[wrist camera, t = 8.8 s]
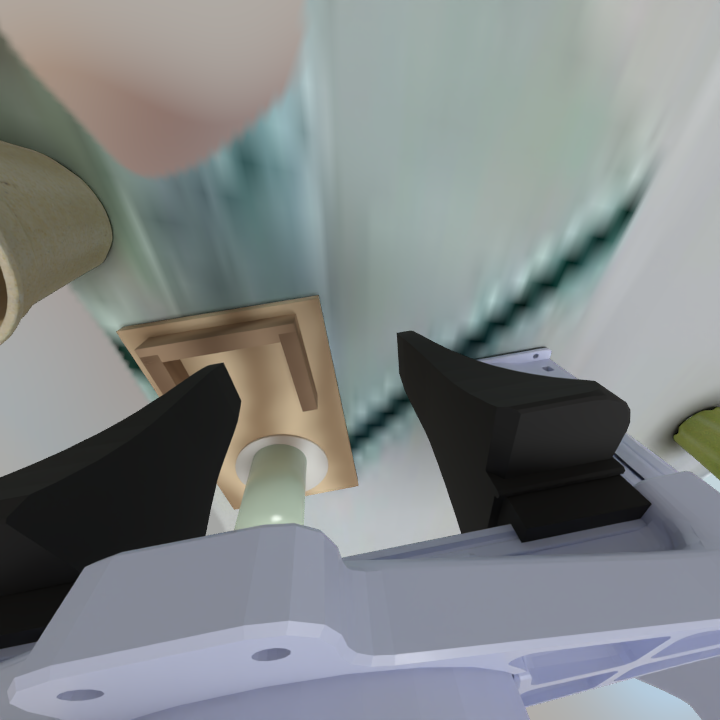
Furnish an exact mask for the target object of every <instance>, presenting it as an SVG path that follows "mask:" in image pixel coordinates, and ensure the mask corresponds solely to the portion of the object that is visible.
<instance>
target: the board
mask: <svg viewBox="0 0 720 720" xmlns="http://www.w3.org/2000/svg"><path fill="white" fill-rule="evenodd" d="M116 332H117V334H118V335H119V337H120V338H121V340H122V341H123V343H124V344H125V346H126V347H127V349H128V350H129V352H130V353H131V355H132V356H133V358H134V359H135V361H136V362H137V364H138V365H139V367H140V368H141V370H142V371H143V373H144V374H145V376H146V377H147V379H148V380H149V382H150V383H151V385H152V387H153V388H154V390H155V391H156V393H157V394H158V396H159V397H160V396H162V395H163V394H165V393H166V392H168V391H169V390H171V389H172V388H174V387H175V386H176V385H178V384H179V383H181V382H182V381H184V380H185V379H187V378H188V377H190V376H191V375H193V374H194V373H196V372H197V371H199V370H200V369H202V368H204V367H206V366H208V365H212V364H217V363H223V362H224V364H225V366H226V369H227V371H228V373H229V375H230V377H231V379H232V382H233V384H234V386H235V388H236V390H237V392H238V394H239V397H240V399H241V407H240V413H239V418H238V423H237V426H236V429H235V431H234V434H233V437H232V440H231V443H230V446H229V448H228V451H227V454H226V457H225V459H224V462H223V465H222V468H221V471H220V474H219V477H218V480H217V484H218V486H219V487H220V489H221V490H222V492H223V493H224V495H225V497H226V498H227V500H228V501H229V503H230V504H231V506H232V507H233V509H234V510H235V509H240V506H241V502H242V498H243V494H244V490H245V486H246V483H247V479H248V475H249V471H250V467H251V463H252V460H253V457H254V455H255V454H256V453H257V451H259V450H260V449H262V448H264V447H266V446H269V445H274V444H285V445H290V446H293V447H296V448H298V449H299V450H301V451H302V452H303V453H304V455H305V456H306V459H307V470H306V489H305V496H308V495H313V494H318V493H324V492H329V491H334V490H339V489H345V488H350V487H355V486H358V479H357V474H356V469H355V465H354V460H353V455H352V450H351V446H350V441H349V436H348V432H347V427H346V422H345V418H344V413H343V408H342V403H341V399H340V394H339V389H338V385H337V380H336V375H335V370H334V366H333V361H332V356H331V352H330V347H329V342H328V337H327V333H326V328H325V323H324V319H323V314H322V309H321V304H320V300H319V295H316V296H310V297H304V298H298V299H292V300H286V301H280V302H274V303H267V304H261V305H255V306H249V307H243V308H237V309H231V310H224V311H218V312H212V313H206V314H200V315H194V316H188V317H181V318H175V319H169V320H163V321H157V322H151V323H145V324H138V325H132V326H126V327H123V328H121V329H119V330H118V331H116Z"/></svg>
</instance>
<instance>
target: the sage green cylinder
mask: <svg viewBox="0 0 720 720" xmlns="http://www.w3.org/2000/svg"><path fill="white" fill-rule="evenodd" d="M306 470H307V459H306V456H305V455H304V453H303V452H302V451H301V450H299V449H298V448H296V447H293V446H290V445H285V444H274V445H269V446H266V447H264V448H262V449H260V450H259V451H257V453H256V454H255V455H254V457H253V460H252V463H251V467H250V471H249V475H248V479H247V483H246V486H245V490H244V494H243V498H242V502H241V506H240V509H239V513H238V517H237V521H236V525H235V529H234V530H239V529H244V528H249V527H254V526H259V525H266V524H286V523H296V524H300V525H304V507H305V489H306Z"/></svg>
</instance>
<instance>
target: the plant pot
mask: <svg viewBox="0 0 720 720" xmlns="http://www.w3.org/2000/svg"><path fill="white" fill-rule="evenodd" d="M674 440H675V442H676V443H678V444H679V445H680V446H681V447H682V448H683V449H685V450H686V451H687V452H688V453H689V454H690V455H692V456H693V457H694V458H695V459H696V460H697V461H699V462H700V463H701V464H702V465H703V466H704V467H705V468H706V469H708V470H709V471H710V472H711V473H712V474H713V475H714V476H716V477H717V478H718V479H719V480H720V407H716V408H715V409H714V410H704V411H701V412H699V413H697V414H695V415H693V416H692V417H690V418H689V419H688V420H686V421H684V422H683V423H682V424H681V425H680V426H679V432H678V434H676V435H674Z"/></svg>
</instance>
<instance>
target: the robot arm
mask: <svg viewBox="0 0 720 720" xmlns="http://www.w3.org/2000/svg"><path fill="white" fill-rule="evenodd" d="M397 343H398V360H399V374H400V377H401V380H402V383H403V386H404V389H405V392H406V394H407V396H408V398H409V400H410V402H411V404H412V406H413V408H414V410H415V412H416V414H417V416H418V418H419V420H420V422H421V424H422V426H423V428H424V430H425V432H426V434H427V436H428V439H429V441H430V443H431V446H432V449H433V452H434V454H435V457H436V460H437V462H438V465H439V468H440V471H441V474H442V477H443V479H444V482H445V485H446V488H447V491H448V494H449V497H450V500H451V503H452V506H453V509H454V512H455V515H456V518H457V521H458V525H459V528H460V531H461V534H458V535H453V536H448V537H443V538H438V539H433V540H428V541H423V542H418V543H413V544H408V545H403V546H398V547H393V548H388V549H383V550H378V551H373V552H368V553H363V554H358V555H353V556H348V557H343V558H341V555H340V552H339V549H338V547H337V546H336V545H335V544H334V543H333V542H332V541H331V540H330V539H329V538H328V537H327V536H326V535H325V534H324V533H323V532H322V531H321V530H319V529H315V528H311V527H308V526H304V525H300V524H296V523H286V524H266V525H259V526H254V527H249V528H244V529H239V530H234V531H229V532H223V533H218V534H213V535H208V536H206V530H207V525H208V520H209V515H210V510H211V505H212V501H213V497H214V493H215V488H216V484H217V480H218V477H219V474H220V471H221V468H222V465H223V462H224V459H225V457H226V454H227V451H228V448H229V446H230V443H231V440H232V437H233V434H234V431H235V429H236V426H237V423H238V418H239V413H240V407H241V399H240V397H239V394H238V392H237V390H236V388H235V386H234V384H233V382H232V379H231V377H230V375H229V373H228V371H227V369H226V366H225V364H224V362H223V363H217V364H212V365H208V366H206V367H204V368H202V369H200V370H199V371H197V372H196V373H194V374H193V375H191V376H190V377H188V378H187V379H185V380H184V381H182V382H181V383H179V384H178V385H176V386H175V387H174V388H172V389H171V390H169V391H168V392H166V393H165V394H163V395H162V396H160V397H159V398H157V399H156V400H154V401H153V402H151V403H150V404H148V405H147V406H145V407H144V408H142V409H141V410H139V411H137V412H136V413H134V414H132V415H131V416H129V417H127V418H126V419H124V420H122V421H121V422H119V423H117V424H115V425H113V426H111V427H110V428H108V429H106V430H104V431H102V432H100V433H98V434H97V435H94V436H92V437H90V438H88V439H86V440H84V441H82V442H80V443H78V444H76V445H74V446H72V447H70V448H68V449H66V450H64V451H62V452H60V453H57V454H55V455H53V456H50V457H48V458H46V459H44V460H41V461H39V462H37V463H35V464H32V465H30V466H28V467H25V468H22V469H20V470H18V471H15V472H13V473H10V474H8V475H5V476H3V477H0V720H530V718H529V716H528V713H527V711H526V707H529V706H533V705H537V704H541V703H544V702H548V701H551V700H555V699H559V698H562V697H566V696H570V695H573V694H577V693H581V692H584V691H588V690H591V689H595V688H599V687H603V686H606V685H610V684H614V683H617V682H621V681H624V680H628V679H632V678H636V679H639V680H641V681H643V682H645V683H648V684H650V685H652V686H654V687H657V688H659V689H661V690H664V691H666V692H668V693H669V694H672V695H674V696H676V697H678V698H680V699H681V700H683V701H685V702H686V703H688V704H689V705H690V706H691V707H692V708H693V709H694V710H695V712H696V713H697V714H698V715H699V716H700V718H701V719H702V720H720V493H719V492H718V491H717V490H715V489H714V488H713V487H711V486H710V485H709V484H707V483H706V482H705V481H703V480H702V479H701V478H699V477H698V476H697V475H695V474H694V473H692V472H689V471H683V472H678V471H677V470H676V469H674V468H673V467H672V466H671V465H669V464H668V463H667V462H665V461H664V460H663V459H661V458H660V457H659V456H657V455H656V454H655V453H653V452H652V451H651V450H649V449H648V448H646V447H645V446H644V445H642V444H641V443H640V442H638V441H637V440H636V439H634V438H633V437H631V436H630V435H628V434H627V433H626V431H627V429H628V426H629V424H630V409H629V407H628V405H627V403H626V402H625V401H623V400H622V399H620V398H619V397H618V396H616V395H615V394H613V393H612V392H610V391H609V390H607V389H606V388H605V387H603V386H602V385H600V384H599V383H597V382H596V381H590V380H579V379H577V378H576V377H574V376H573V375H572V374H570V373H569V372H567V371H566V370H565V369H563V368H562V367H560V366H559V365H558V364H556V363H555V362H553V361H552V360H551V359H550V357H551V352H552V351H551V350H550V349H548V348H541V349H535V350H530V351H524V352H518V353H513V354H507V355H501V356H496V357H490V358H484V359H478V360H475V359H471V358H469V357H466V356H463V355H461V354H459V353H456V352H454V351H452V350H449V349H447V348H445V347H443V346H441V345H439V344H437V343H435V342H433V341H431V340H429V339H427V338H425V337H424V336H422V335H420V334H418V333H416V332H414V331H406V332H400V333H397Z"/></svg>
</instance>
